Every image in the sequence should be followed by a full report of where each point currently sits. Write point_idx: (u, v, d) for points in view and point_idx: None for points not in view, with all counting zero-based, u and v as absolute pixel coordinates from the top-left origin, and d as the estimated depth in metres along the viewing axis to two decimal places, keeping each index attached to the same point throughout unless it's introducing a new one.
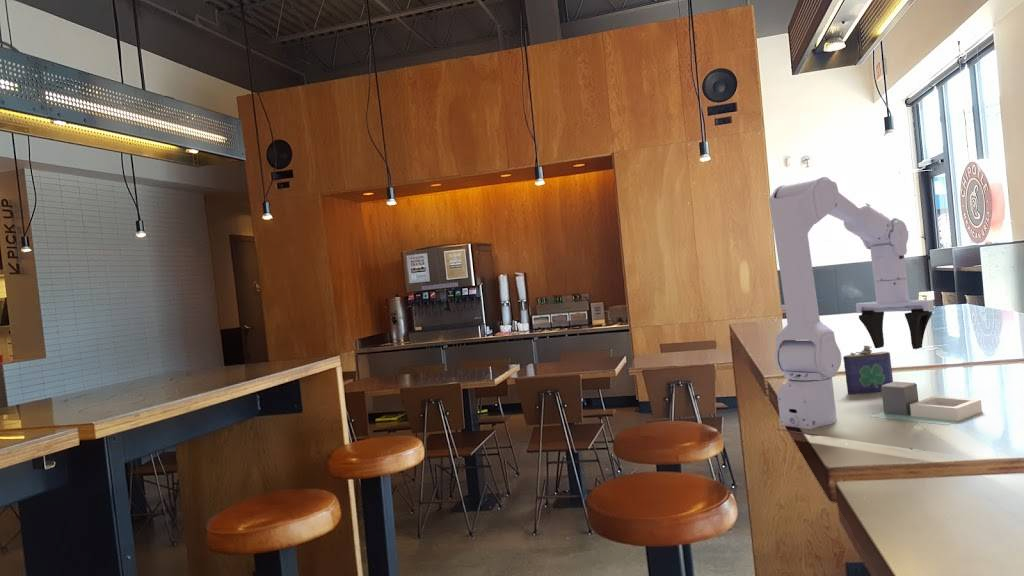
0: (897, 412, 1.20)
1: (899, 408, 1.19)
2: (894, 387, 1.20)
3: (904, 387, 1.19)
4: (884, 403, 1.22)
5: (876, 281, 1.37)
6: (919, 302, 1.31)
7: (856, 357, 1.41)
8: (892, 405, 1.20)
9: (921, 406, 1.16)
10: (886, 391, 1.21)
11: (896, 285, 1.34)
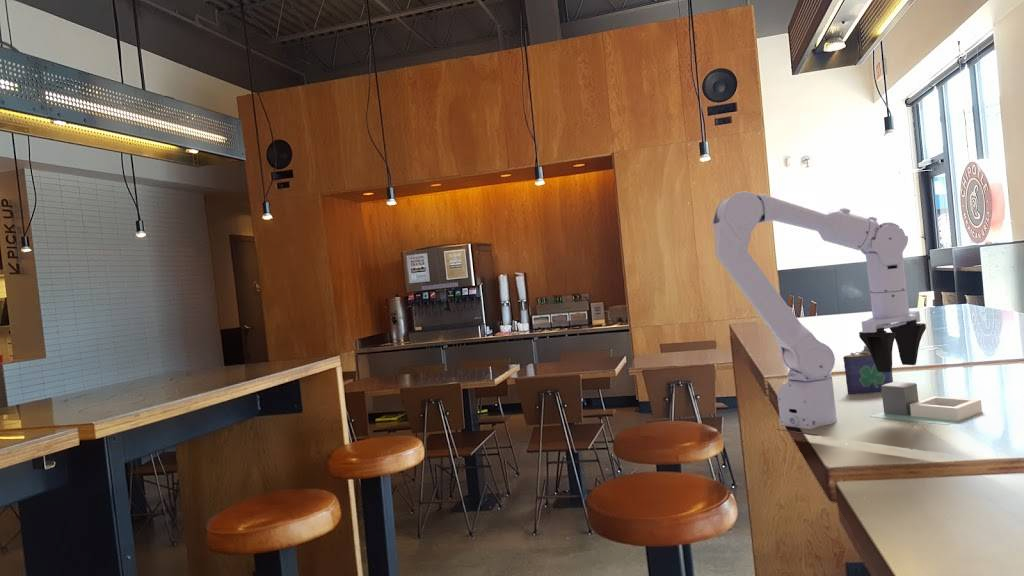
0: (897, 412, 1.20)
1: (899, 408, 1.19)
2: (894, 387, 1.20)
3: (904, 387, 1.19)
4: (884, 403, 1.22)
5: None
6: None
7: (856, 357, 1.41)
8: (892, 405, 1.20)
9: (921, 406, 1.16)
10: (886, 391, 1.21)
11: (871, 299, 1.22)
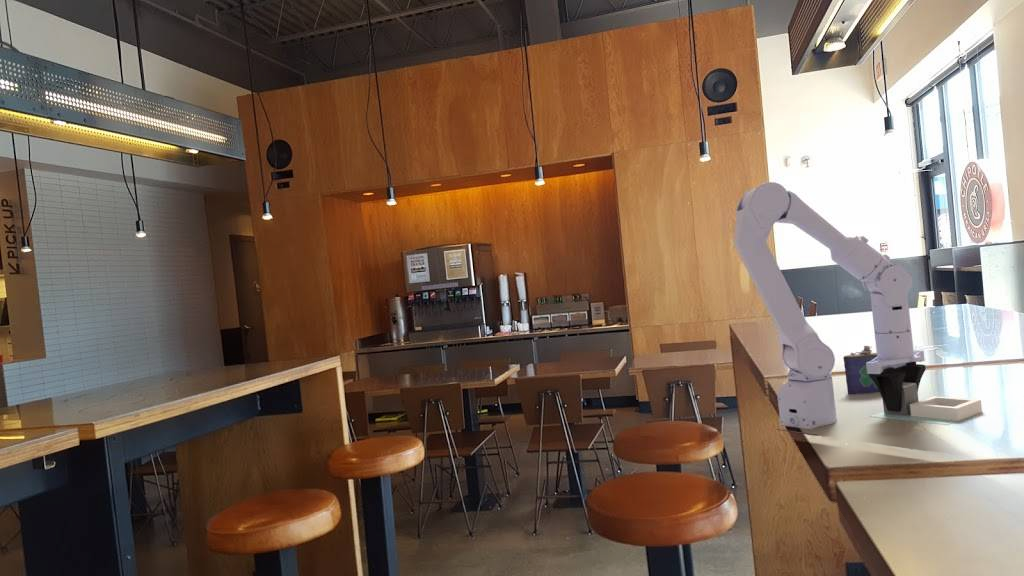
0: (897, 412, 1.20)
1: None
2: None
3: (904, 387, 1.19)
4: (884, 403, 1.22)
5: None
6: (869, 362, 1.19)
7: (856, 357, 1.41)
8: None
9: (921, 406, 1.16)
10: None
11: (876, 339, 1.22)
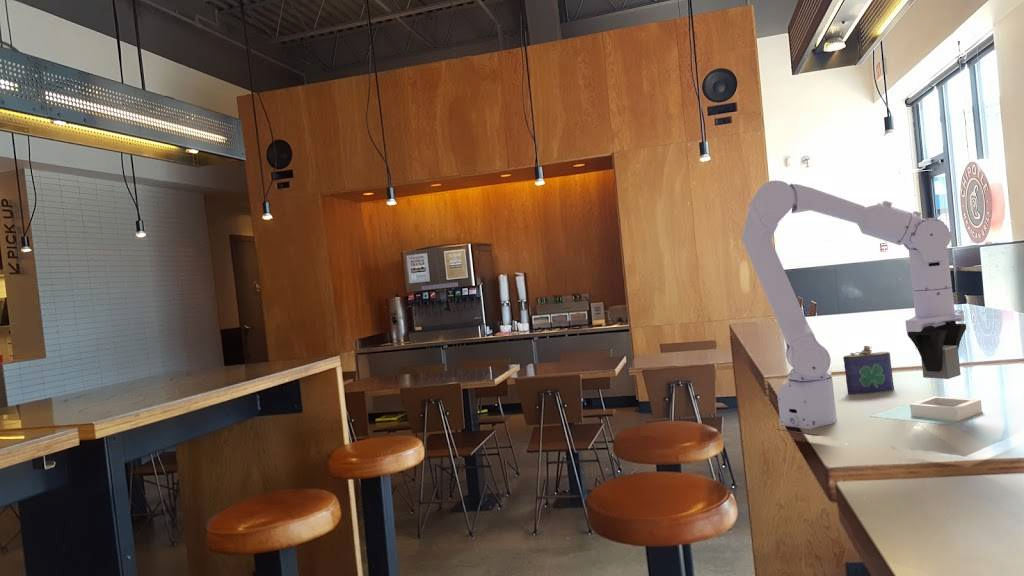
0: (937, 375, 1.15)
1: (940, 371, 1.15)
2: None
3: (945, 349, 1.14)
4: (923, 367, 1.17)
5: None
6: None
7: (856, 357, 1.41)
8: None
9: (921, 406, 1.16)
10: None
11: (914, 297, 1.17)
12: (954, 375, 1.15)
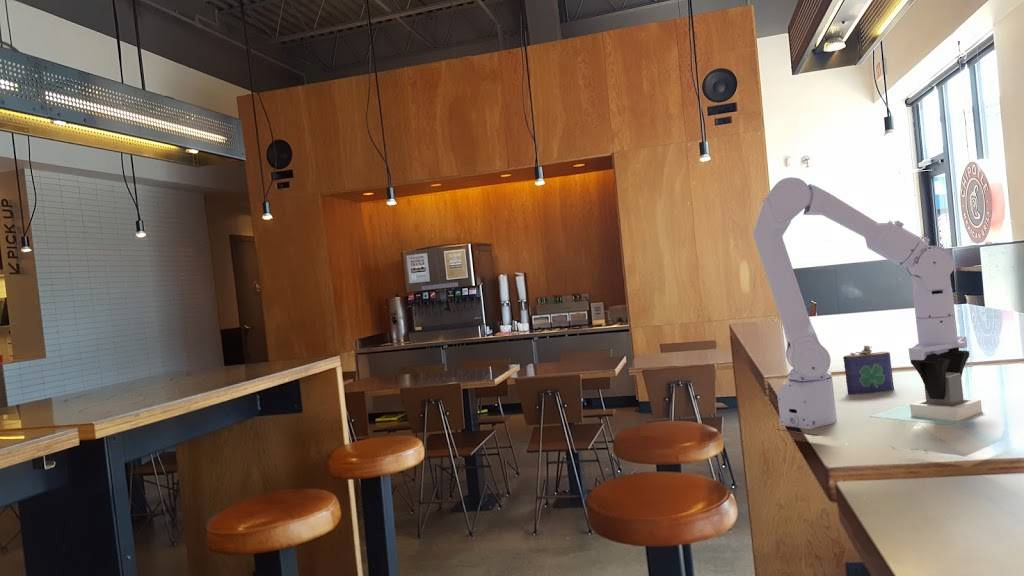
0: (941, 403, 1.15)
1: None
2: None
3: (948, 377, 1.14)
4: (926, 394, 1.17)
5: None
6: (912, 348, 1.15)
7: (856, 357, 1.41)
8: None
9: (921, 406, 1.16)
10: None
11: (918, 324, 1.17)
12: (957, 403, 1.15)
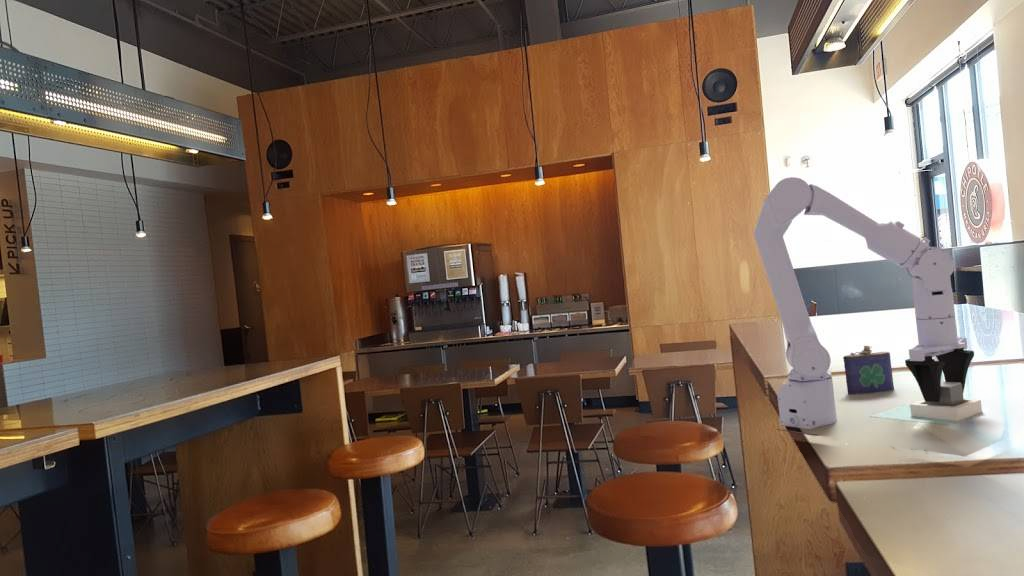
0: None
1: None
2: None
3: (950, 387, 1.14)
4: (928, 404, 1.17)
5: None
6: None
7: (856, 357, 1.41)
8: None
9: (921, 406, 1.16)
10: None
11: (918, 325, 1.17)
12: None
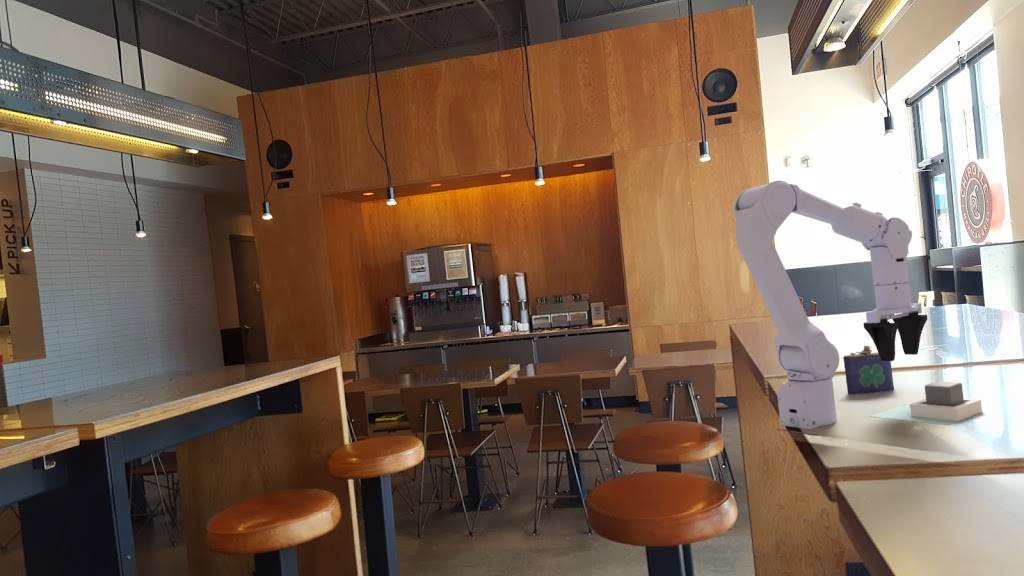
0: None
1: None
2: (939, 387, 1.15)
3: (950, 387, 1.14)
4: (928, 404, 1.17)
5: None
6: None
7: (856, 357, 1.41)
8: None
9: (921, 406, 1.16)
10: (930, 391, 1.17)
11: (875, 291, 1.27)
12: None
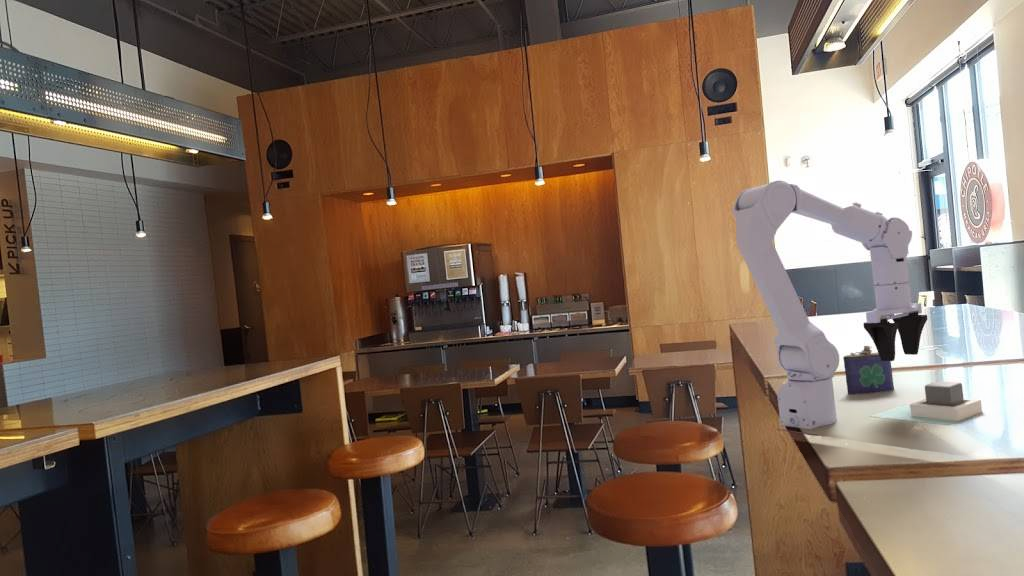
0: None
1: None
2: (939, 387, 1.15)
3: (950, 387, 1.14)
4: (928, 404, 1.17)
5: None
6: None
7: (856, 357, 1.41)
8: None
9: (921, 406, 1.16)
10: (930, 391, 1.17)
11: (875, 291, 1.27)
12: None
